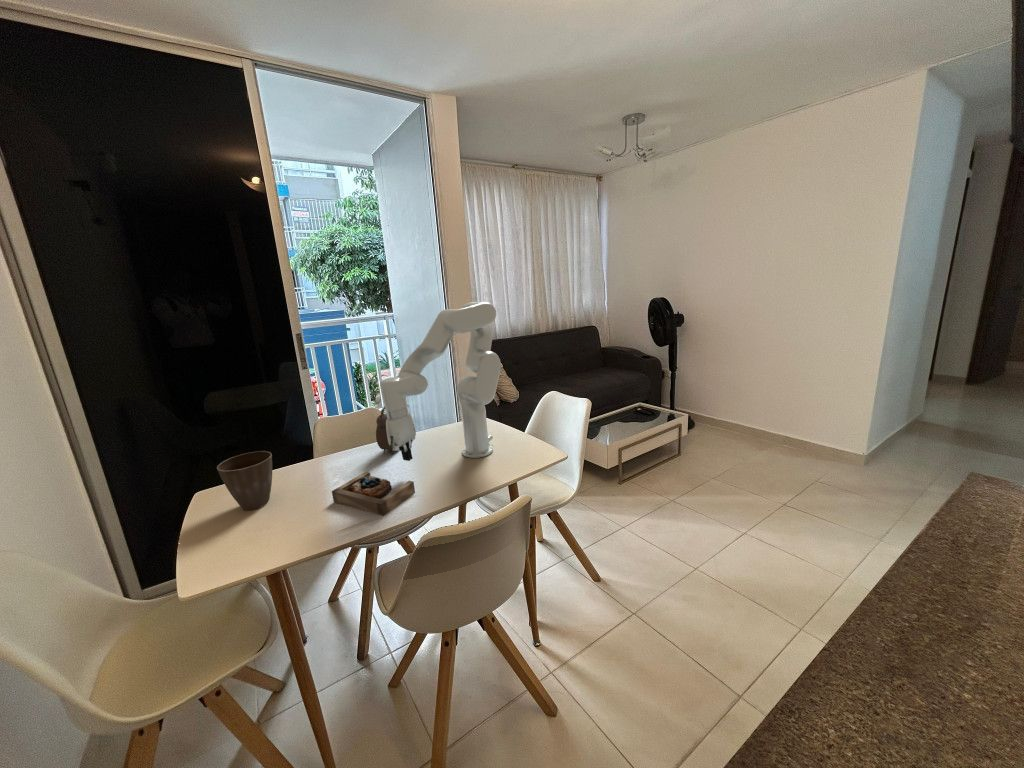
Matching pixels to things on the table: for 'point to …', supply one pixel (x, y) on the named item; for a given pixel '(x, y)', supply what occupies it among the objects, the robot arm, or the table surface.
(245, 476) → the plant pot
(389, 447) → the alarm clock
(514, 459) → the table surface
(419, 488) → the table surface
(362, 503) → the wooden u-shaped frame
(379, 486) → the pastry
